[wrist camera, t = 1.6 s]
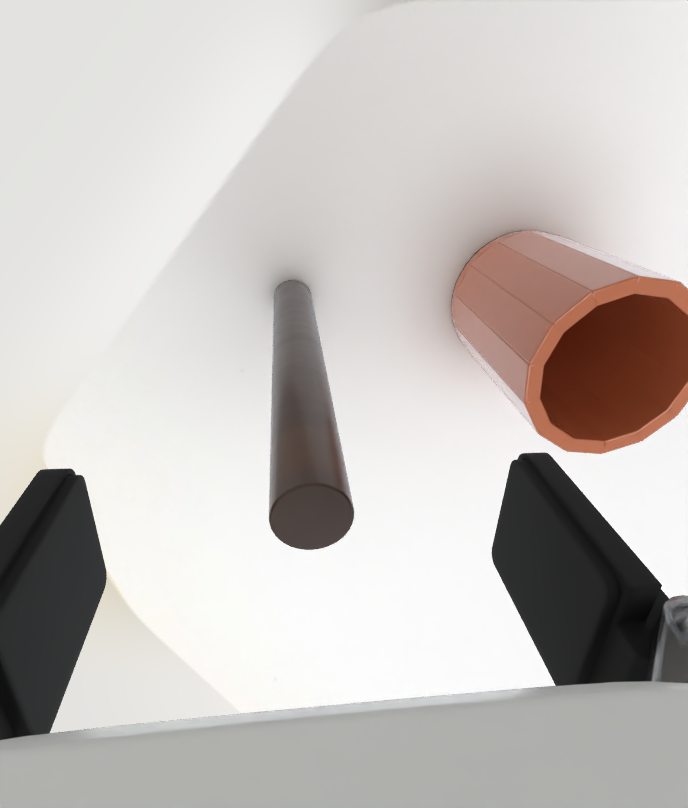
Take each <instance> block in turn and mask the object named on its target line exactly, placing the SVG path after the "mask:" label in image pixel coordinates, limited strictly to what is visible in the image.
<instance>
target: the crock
mask: <svg viewBox="0 0 688 808" xmlns="http://www.w3.org/2000/svg"><path fill="white" fill-rule="evenodd" d="M451 312H452V320H453V325H454V328H455V330H456V333H457V335H458V337H459V338H460V340H461V341H462V342H463V344H464V346H465V348H466V350H467V351H468V352H469V353H470V354H471V355H472V357H473V358H474V359H475V360H476V361H477V362H478V364H479V365H480V366H481V367H482V368H483V370H484V371H485V372H486V373H487V374H488V375H489V377H490V378H491V379H492V380H493V381H494V382H495V384H496V385H497V386H498V387H499V388H500V390H501V391H502V392H503V393H504V394H505V395H506V397H507V398H508V399H509V400H510V401H511V402H512V404H513V405H514V406H515V407H516V408H517V409H518V411H519V412H520V413H521V414H522V415H523V417H524V418H525V419H526V420H527V421H528V422H529V424H530V425H531V426H532V427H533V428H534V429H535V431H536V432H537V433H538V434H539V435H541V436H542V437H544V438H545V439H547V440H549V441H550V442H552V443H553V444H555V445H557V446H558V447H560V448H561V449H563V450H565V451H568V452H582V453H596V454H602V453H606V452H609V451H613V450H616V449H619V448H622V447H625V446H629V445H632V444H635V443H638V442H640V441H643V440H644V439H646V438H647V437H648V436H650V435H651V434H653V433H654V432H655V431H657V430H658V429H660V428H661V427H663V426H664V425H665V424H667V423H668V422H670V421H671V420H672V419H674V418H675V417H676V416H677V415H678V414H679V413H680V411H681V410H682V409H683V407H684V406H685V405H686V404H687V402H688V288H686V287H685V286H684V285H683V284H682V283H681V282H679V281H676V280H674V279H671V278H668V277H666V276H663V275H661V274H658V273H655V272H653V271H650V270H648V269H645V268H642V267H640V266H637V265H635V264H632V263H629V262H627V261H624V260H621V259H619V258H616V257H614V256H611V255H608V254H606V253H603V252H601V251H598V250H595V249H593V248H590V247H588V246H585V245H582V244H580V243H577V242H574V241H572V240H569V239H567V238H564V237H561V236H559V235H554V234H549V233H546V232H542V231H534V230H524V231H517V232H512V233H509V234H506V235H503V236H501V237H499V238H497V239H495V240H493V241H491V242H490V243H488V244H487V245H485V246H484V247H483V248H482V249H480V250H479V251H478V252H477V253H476V254H475V255H474V256H473V257H472V258H471V259H470V261H469V262H468V263H467V264H466V266H465V267H464V269H463V271H462V272H461V274H460V276H459V278H458V280H457V283H456V286H455V289H454V292H453V297H452V305H451Z"/></svg>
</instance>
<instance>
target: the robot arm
mask: <svg viewBox="0 0 688 808" xmlns="http://www.w3.org/2000/svg"><path fill="white" fill-rule="evenodd" d="M492 558H493V562H494V565H495V567H496V569H497V571H498V573H499V575H500V577H501V579H502V581H503V583H504V585H505V587H506V589H507V591H508V593H509V595H510V596H511V598H512V600H513V602H514V604H515V606H516V608H517V610H518V612H519V614H520V616H521V618H522V620H523V622H524V624H525V626H526V628H527V630H528V632H529V634H530V636H531V638H532V640H533V642H534V644H535V646H536V648H537V649H538V651H539V653H540V655H541V657H542V659H543V661H544V663H545V665H546V667H547V669H548V671H549V673H550V675H551V677H552V679H553V681H554V683H555V685H556V686H549V687H535V688H523V689H512V690H500V691H488V692H477V693H465V694H453V695H441V696H430V697H418V698H407V699H396V700H385V701H374V702H362V703H351V704H340V705H329V706H319V707H308V708H297V709H286V710H275V711H264V712H254V713H243V714H234V715H223V716H214V717H202V718H192V719H181V720H171V721H161V722H151V723H141V724H130V725H120V726H111V727H102V728H93V729H84V730H76V731H67V732H58V733H50V731H51V728H52V725H53V722H54V720H55V717H56V715H57V712H58V709H59V707H60V704H61V702H62V699H63V696H64V694H65V691H66V688H67V686H68V683H69V681H70V678H71V675H72V673H73V670H74V667H75V665H76V662H77V660H78V657H79V654H80V651H81V649H82V646H83V644H84V641H85V639H86V636H87V633H88V631H89V628H90V625H91V623H92V620H93V617H94V615H95V612H96V609H97V607H98V604H99V602H100V599H101V596H102V594H103V591H104V588H105V585H106V568H105V564H104V559H103V555H102V551H101V547H100V542H99V538H98V534H97V530H96V525H95V521H94V517H93V513H92V508H91V504H90V500H89V496H88V491H87V487H86V483H85V480H84V477H83V476H81V475H76V474H75V472H74V471H73V470H72V469H45V470H40V471H39V472H38V473H37V474H36V476H35V477H34V478H33V480H32V481H31V483H30V484H29V485H28V487H27V488H26V490H25V491H24V493H23V494H22V495H21V497H20V498H19V500H18V501H17V503H16V504H15V505H14V507H13V508H12V510H11V511H10V512H9V514H8V515H7V516H6V518H5V519H4V521H3V522H2V524H1V525H0V808H688V596H684V595H683V596H676V597H672V598H670V599H669V598H668V597H667V596H666V595H665V593H664V592H663V591H662V590H661V586H662V585H661V584H660V582H659V581H658V580H657V579H656V578H655V577H654V575H653V574H652V573H651V572H650V571H649V570H648V569H647V567H646V566H645V565H644V564H643V563H642V562H641V560H640V559H639V558H638V557H637V556H636V555H635V553H634V552H633V551H632V550H631V549H630V548H629V546H628V545H627V544H626V543H625V542H624V541H623V539H622V538H621V537H620V536H619V535H618V534H617V532H616V531H615V530H614V529H613V528H612V527H611V525H610V524H609V523H608V522H607V521H606V520H605V518H604V517H603V516H602V515H601V514H600V513H599V512H598V510H597V509H596V508H595V507H594V506H593V505H592V503H591V502H590V501H589V500H588V499H587V498H586V496H585V495H584V494H583V493H582V492H581V491H580V489H579V488H578V487H577V486H576V485H575V484H574V482H573V481H572V480H571V479H570V478H569V477H568V475H567V474H566V473H565V472H564V471H563V470H562V468H561V467H560V466H559V465H558V464H557V463H556V461H555V460H554V459H553V458H552V457H551V456H550V455H549V454H548V453H523V454H521V455H520V456H519V457H518V460H514V461H512V463H511V466H510V470H509V474H508V479H507V483H506V488H505V492H504V497H503V501H502V506H501V510H500V515H499V519H498V524H497V528H496V533H495V538H494V542H493V547H492Z"/></svg>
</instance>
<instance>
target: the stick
mask: <svg viewBox="0 0 688 808" xmlns="http://www.w3.org/2000/svg"><path fill="white" fill-rule="evenodd" d="M353 519H354V508H353V503H352V498H351V493H350V488H349V483H348V478H347V473H346V468H345V463H344V458H343V453H342V448H341V443H340V438H339V433H338V428H337V423H336V418H335V413H334V408H333V402H332V397H331V392H330V387H329V382H328V377H327V372H326V367H325V362H324V357H323V352H322V347H321V342H320V337H319V332H318V327H317V322H316V317H315V312H314V307H313V302H312V297H311V293H310V290H309V289H308V287H307V286H306V285H305V284H303V283H302V282H300V281H296V280H289V281H285V282H283V283H282V284H280V285H279V286H278V288H277V289H276V291H275V294H274V321H273V365H272V409H271V453H270V496H269V523H270V526H271V529H272V531H273V532H274V534H275V535H276V536H277V537H278V539H280V540H281V541H282V542H283V543H285V544H287V545H289V546H291V547H294V548H298V549H305V550H313V549H320V548H324V547H327V546H329V545H332V544H334V543H336V542H337V541H339V540H340V539H341V538H342V537H343V536H344V535H345V534H346V533H347V532H348V530H349V529H350V527H351V525H352V522H353Z"/></svg>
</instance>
